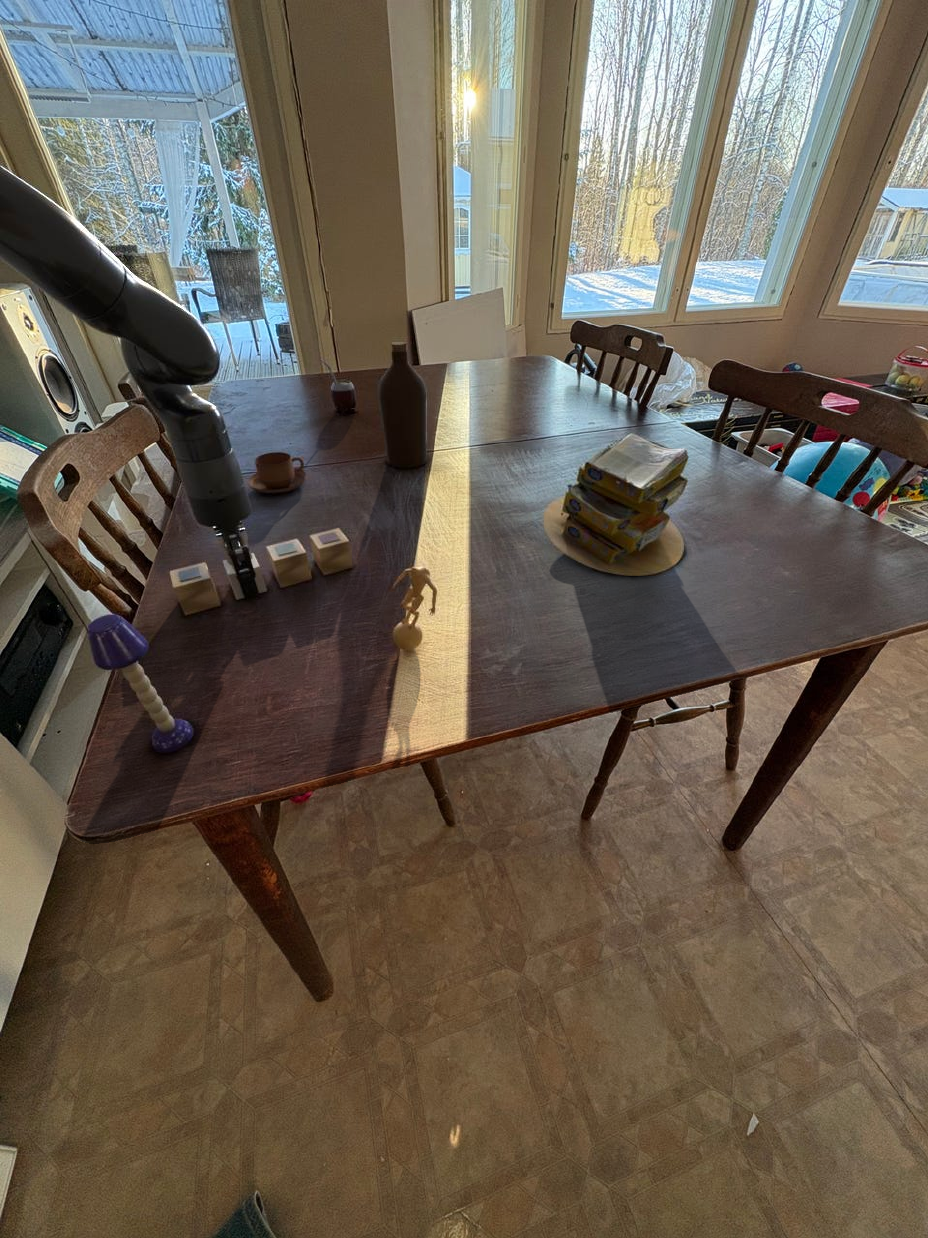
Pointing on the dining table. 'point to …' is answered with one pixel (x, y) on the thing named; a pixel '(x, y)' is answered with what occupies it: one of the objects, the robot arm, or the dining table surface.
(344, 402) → the mate gourd
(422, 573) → the figurine
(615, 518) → the stacked food boxes
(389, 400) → the olive oil
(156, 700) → the toy lamp
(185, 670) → the dining table surface
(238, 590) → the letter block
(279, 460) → the cup and saucer
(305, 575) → the block row
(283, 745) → the dining table surface
